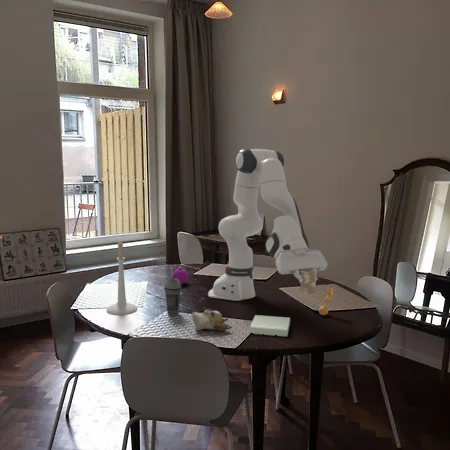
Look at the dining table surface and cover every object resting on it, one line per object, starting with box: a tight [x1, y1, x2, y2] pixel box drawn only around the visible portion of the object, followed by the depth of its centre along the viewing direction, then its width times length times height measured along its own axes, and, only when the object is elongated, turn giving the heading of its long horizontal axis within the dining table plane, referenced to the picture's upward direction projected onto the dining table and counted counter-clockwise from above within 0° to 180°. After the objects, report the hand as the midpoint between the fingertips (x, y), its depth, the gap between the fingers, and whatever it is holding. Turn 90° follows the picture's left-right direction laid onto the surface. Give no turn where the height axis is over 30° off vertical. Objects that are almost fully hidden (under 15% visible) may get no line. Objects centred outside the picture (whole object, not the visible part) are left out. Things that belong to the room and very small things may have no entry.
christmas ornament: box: [172, 264, 189, 285], centre depth 250 cm, size 8×8×10 cm
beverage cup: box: [164, 266, 182, 317], centre depth 202 cm, size 7×7×20 cm
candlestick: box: [106, 241, 138, 316], centre depth 206 cm, size 13×13×30 cm
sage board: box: [249, 314, 291, 337], centre depth 188 cm, size 14×14×3 cm
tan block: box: [299, 270, 317, 295], centre depth 180 cm, size 4×4×8 cm
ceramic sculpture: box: [192, 307, 233, 331], centre depth 186 cm, size 11×9×15 cm
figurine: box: [318, 286, 335, 316], centre depth 203 cm, size 8×6×12 cm
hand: (309, 281), depth 179 cm, fingers closed on tan block, 4 cm apart
